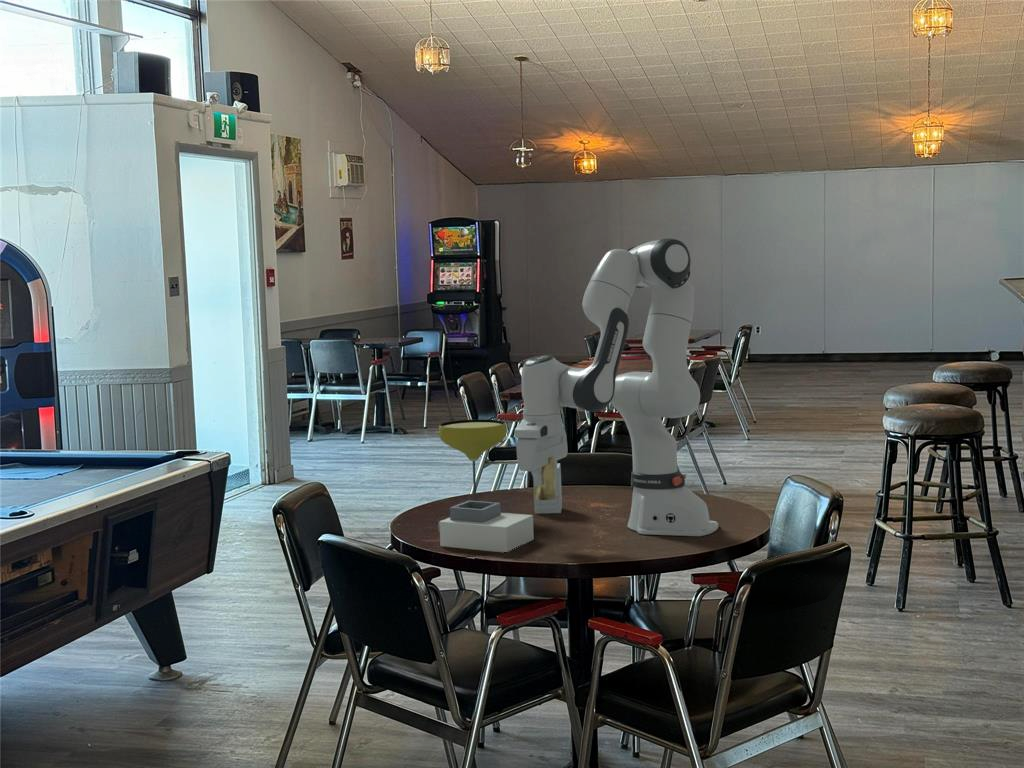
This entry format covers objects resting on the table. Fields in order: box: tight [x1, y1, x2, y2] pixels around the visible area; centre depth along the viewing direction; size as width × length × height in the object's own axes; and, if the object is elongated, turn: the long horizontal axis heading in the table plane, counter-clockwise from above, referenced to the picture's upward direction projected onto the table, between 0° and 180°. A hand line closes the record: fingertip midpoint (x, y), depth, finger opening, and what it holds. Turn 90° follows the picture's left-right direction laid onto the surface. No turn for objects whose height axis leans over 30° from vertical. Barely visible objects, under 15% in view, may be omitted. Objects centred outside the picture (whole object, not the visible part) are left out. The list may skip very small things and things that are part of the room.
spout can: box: [535, 456, 556, 500], centre depth 264 cm, size 5×5×13 cm
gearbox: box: [437, 499, 535, 553], centre depth 269 cm, size 22×14×9 cm, turn 62°
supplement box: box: [532, 462, 563, 515], centre depth 303 cm, size 7×7×13 cm
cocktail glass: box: [438, 419, 507, 501], centre depth 299 cm, size 18×18×25 cm
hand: (545, 482), depth 264 cm, fingers closed on spout can, 5 cm apart
